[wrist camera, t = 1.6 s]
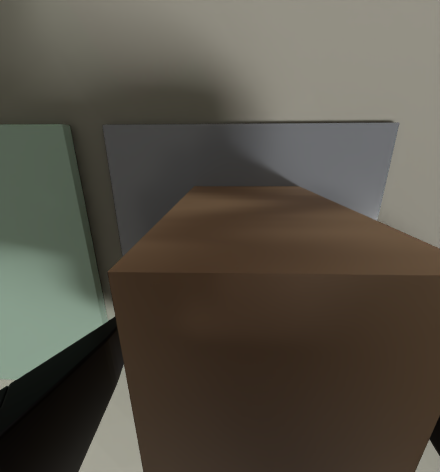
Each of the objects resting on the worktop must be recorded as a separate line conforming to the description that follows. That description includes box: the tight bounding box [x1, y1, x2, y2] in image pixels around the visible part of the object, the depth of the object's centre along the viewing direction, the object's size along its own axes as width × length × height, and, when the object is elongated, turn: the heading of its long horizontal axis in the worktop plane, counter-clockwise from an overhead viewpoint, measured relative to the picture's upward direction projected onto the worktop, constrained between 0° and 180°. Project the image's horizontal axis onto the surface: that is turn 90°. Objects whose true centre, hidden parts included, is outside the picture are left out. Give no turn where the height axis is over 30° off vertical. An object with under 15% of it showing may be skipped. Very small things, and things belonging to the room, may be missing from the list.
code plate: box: [103, 123, 399, 256], centre depth 12 cm, size 12×14×1 cm
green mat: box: [0, 124, 108, 380], centre depth 12 cm, size 9×14×1 cm, turn 0°
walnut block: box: [108, 186, 440, 472], centre depth 8 cm, size 5×9×8 cm, turn 0°
